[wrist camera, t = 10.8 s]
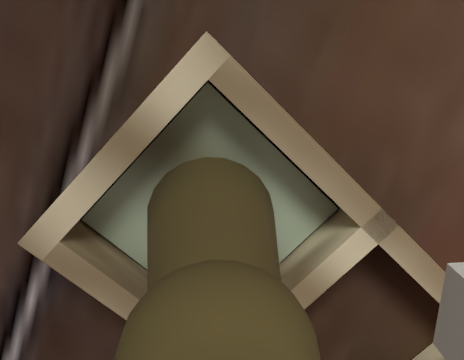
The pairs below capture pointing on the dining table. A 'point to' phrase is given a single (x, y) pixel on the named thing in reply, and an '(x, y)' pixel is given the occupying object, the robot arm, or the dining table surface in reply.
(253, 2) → the dining table surface
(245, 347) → the olive condiment shaker
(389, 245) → the condiment rack
